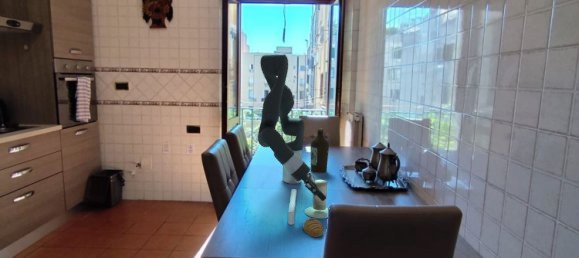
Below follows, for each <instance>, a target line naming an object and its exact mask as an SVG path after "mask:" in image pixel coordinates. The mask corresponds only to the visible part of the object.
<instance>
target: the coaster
mask: <svg viewBox="0 0 579 258" xmlns="http://www.w3.org/2000/svg"><path fill="white" fill-rule="evenodd" d="M328 208H329V207H326V209H325V210H315V209H313V206H309V207H307V208H305V209H304V214H305V215H306V216H308V217H310V218H314V219H318V220H319V219H321V220H322V219H328V218H327V214H328Z"/></svg>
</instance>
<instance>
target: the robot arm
mask: <svg viewBox="0 0 579 258" xmlns="http://www.w3.org/2000/svg"><path fill="white" fill-rule="evenodd" d="M259 63H260V70H261V72H262V74H263V78H265V81H266V84H267V85H268V88H269V90H270V91H268V94H267V95H266V97H265V98H264V100H263V104H262V110H261V120H260V124H259V127H258V131H257V142H258V145H260V146H261V147H263V148H270V149H271V151H272V152H273V156H274V158H275V159H276V160H277V161H278V162H279V163H280V164H281V165H282V181H283V182H284V183H286V184H291V185H293V184H295V185H296V184H300V183H301V182H302V181H303V184H304V186H305V188H306V189H307V190H308V191H309V192H310V193H312V196H313V195H317V196H318V197H319V198H320V199H321V200H322V201H324V200H325V199H326V196H325V195H324V194H323V193H322V192H321V191H320V189H319V188H318V187H317V184H316V183H315V180H317V179H316V178H315V177H314V175H313V174H312V173H311V172H310V171H311V167H309V165H308V164H306V162H305V161H304V160H303V152H304V151H303V149H304V148H303V147H304V146H303V145H304V137H305V136H304V135H305V121H304V119H302V118H299V117H298V118H297V117H296V118H295V117H290V116H289V114H290V112H292V110H293V108H294V106H295V99H294V96H293V92H292V90H291V89H290V88H289V86H288V85H287V84H286V80H287V77H288V72H289V58H288V56H287V55H286V54H285V53H268V54H267V53H266V54H263V55H262V56H261V58H260V62H259ZM278 122H280V127H281V130H282V133H283V135H285V136H287V137H295V139H294V140H292V141H288V142H286V141H285V139H284V138H283V136H282V134H281V133H280V132H279V131H278V130H277V129H276V126H277V124H278ZM314 185H315V186H314ZM314 189H316V191H314Z"/></svg>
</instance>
